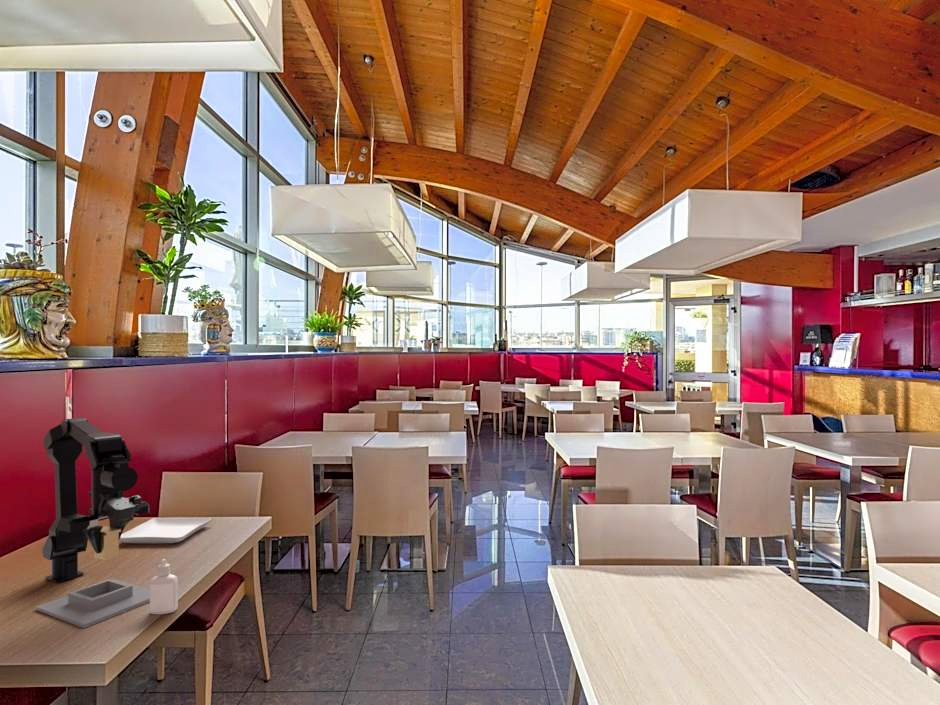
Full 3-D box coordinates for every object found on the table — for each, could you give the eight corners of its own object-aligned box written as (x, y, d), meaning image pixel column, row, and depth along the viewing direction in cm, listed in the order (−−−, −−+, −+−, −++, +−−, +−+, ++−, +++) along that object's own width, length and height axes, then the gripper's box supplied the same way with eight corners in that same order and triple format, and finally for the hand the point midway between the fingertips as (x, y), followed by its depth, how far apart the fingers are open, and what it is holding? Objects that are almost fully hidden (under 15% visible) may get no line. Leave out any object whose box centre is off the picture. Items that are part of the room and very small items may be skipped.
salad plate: (180, 547, 174) (180, 536, 174) (114, 547, 174) (114, 536, 174) (213, 526, 195) (213, 517, 195) (153, 527, 195) (153, 517, 195)
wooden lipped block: (91, 557, 135) (91, 530, 135) (106, 553, 138) (106, 526, 138) (106, 560, 132) (106, 532, 132) (121, 556, 135) (121, 528, 135)
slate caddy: (35, 610, 129) (35, 595, 129) (115, 582, 145) (114, 569, 145) (83, 628, 120) (83, 613, 120) (162, 596, 136) (162, 583, 136)
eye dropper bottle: (164, 617, 125) (164, 564, 125) (146, 613, 127) (146, 561, 127) (180, 609, 129) (180, 557, 129) (162, 605, 131) (162, 555, 131)
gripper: (84, 498, 123) (84, 568, 123) (162, 481, 140) (163, 543, 140) (56, 494, 128) (56, 561, 128) (135, 478, 145) (135, 538, 145)
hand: (106, 550), depth 135 cm, fingers closed on wooden lipped block, 3 cm apart
